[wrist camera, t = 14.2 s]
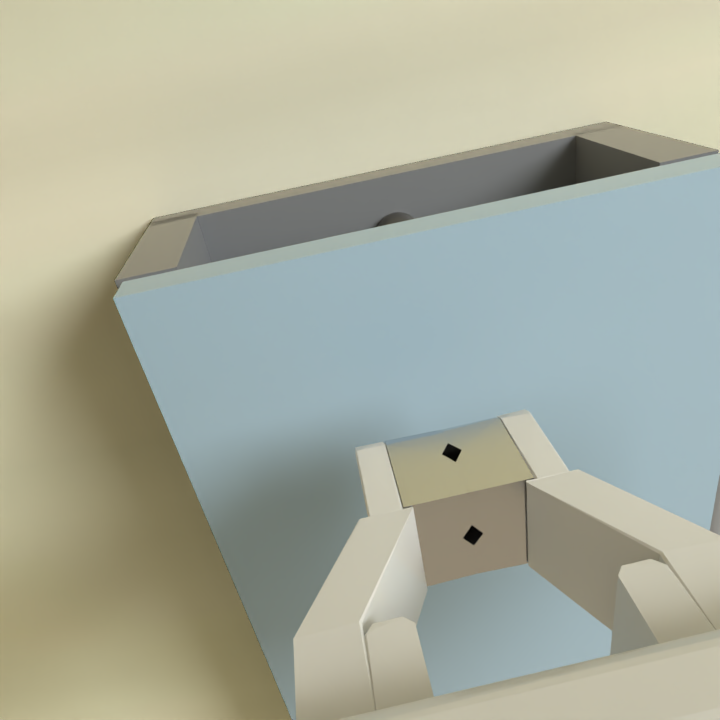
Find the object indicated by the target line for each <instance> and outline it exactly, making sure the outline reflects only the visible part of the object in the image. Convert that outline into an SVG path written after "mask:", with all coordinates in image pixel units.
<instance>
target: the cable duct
mask: <svg viewBox="0 0 720 720" xmlns="http://www.w3.org/2000/svg"><path fill="white" fill-rule="evenodd" d="M718 151H719V150H716V149H712V148H708V147H704V146H700V145H696V144H693V143H689V142H685V141H681V140H677V139H673V138H669V137H665V136H661V135H657V134H653V133H649V132H645V131H641V130H637V129H633V128H629V127H625V126H621V125H617V124H613V123H609V122H603V123H598V124H593V125H588V126H584V127H579V128H574V129H570V130H565V131H560V132H556V133H551V134H546V135H542V136H537V137H532V138H527V139H523V140H518V141H513V142H509V143H504V144H499V145H495V146H490V147H485V148H480V149H476V150H471V151H466V152H462V153H457V154H452V155H448V156H443V157H438V158H433V159H429V160H424V161H419V162H415V163H410V164H405V165H401V166H396V167H391V168H386V169H382V170H377V171H372V172H368V173H363V174H358V175H354V176H349V177H344V178H339V179H335V180H330V181H325V182H321V183H316V184H311V185H307V186H302V187H297V188H292V189H288V190H283V191H278V192H274V193H269V194H264V195H260V196H255V197H250V198H245V199H241V200H236V201H231V202H227V203H222V204H217V205H213V206H208V207H203V208H198V209H194V210H189V211H184V212H180V213H175V214H170V215H166V216H161V217H156V218H153V220H152V221H151V223H150V225H149V226H148V228H147V229H146V231H145V232H144V234H143V236H142V237H141V239H140V240H139V242H138V244H137V245H136V247H135V248H134V250H133V252H132V253H131V255H130V256H129V258H128V260H127V261H126V263H125V264H124V266H123V268H122V269H121V271H120V272H119V274H118V276H117V277H116V279H115V280H114V281H115V283H116V286H117V288H118V289H119V287H120V286H121V284H122V282H124V281H129V280H133V279H138V278H143V277H147V276H152V275H157V274H161V273H166V272H170V271H175V270H180V269H184V268H189V267H194V266H198V265H203V264H208V263H212V262H217V261H221V260H226V259H231V258H235V257H240V256H245V255H249V254H254V253H259V252H263V251H268V250H272V249H277V248H282V247H286V246H291V245H296V244H300V243H305V242H310V241H314V240H319V239H324V238H328V237H333V236H337V235H342V234H347V233H351V232H356V231H361V230H365V229H370V228H375V227H379V226H384V225H388V224H393V223H398V222H402V221H407V220H412V219H416V218H421V217H426V216H430V215H435V214H439V213H444V212H449V211H453V210H458V209H463V208H467V207H472V206H477V205H481V204H486V203H490V202H495V201H500V200H504V199H509V198H514V197H518V196H523V195H528V194H532V193H537V192H541V191H546V190H551V189H555V188H560V187H565V186H569V185H574V184H579V183H583V182H588V181H592V180H597V179H602V178H606V177H611V176H616V175H620V174H625V173H630V172H634V171H639V170H643V169H648V168H653V167H657V166H662V165H667V164H671V163H676V162H681V161H685V160H690V159H694V158H699V157H704V156H708V155H713V154H718Z"/></svg>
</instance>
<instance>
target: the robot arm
mask: <svg viewBox="0 0 720 720" xmlns="http://www.w3.org/2000/svg"><path fill="white" fill-rule="evenodd" d="M355 455H356V460H357V465H358V470H359V475H360V480H361V485H362V490H363V495H364V500H365V505H366V510H367V515H368V517H366V518H361V519H359V520H358V522H357V524H356V526H355V528H354V530H353V531H352V533H351V535H350V537H349V539H348V540H347V542H346V544H345V546H344V548H343V550H342V551H341V553H340V555H339V557H338V559H337V560H336V562H335V564H334V566H333V568H332V569H331V571H330V573H329V575H328V577H327V579H326V580H325V582H324V584H323V586H322V588H321V589H320V591H319V593H318V595H317V597H316V599H315V600H314V602H313V604H312V606H311V608H310V609H309V611H308V613H307V615H306V617H305V618H304V620H303V622H302V624H301V626H300V628H299V629H298V631H297V633H296V635H295V637H294V638H293V645H294V674H295V702H296V720H720V535H718V534H716V533H713V532H711V531H709V530H707V529H705V528H703V527H701V526H698V525H696V524H694V523H692V522H690V521H688V520H686V519H684V518H681V517H679V516H677V515H675V514H673V513H671V512H669V511H666V510H664V509H662V508H660V507H658V506H656V505H654V504H652V503H649V502H647V501H645V500H643V499H641V498H639V497H637V496H634V495H632V494H630V493H628V492H626V491H624V490H622V489H619V488H617V487H615V486H613V485H611V484H609V483H607V482H605V481H602V480H600V479H598V478H596V477H594V476H592V475H590V474H587V473H585V472H583V471H581V470H579V469H577V470H572V471H569V470H568V468H567V467H566V465H565V464H564V462H563V461H562V459H561V458H560V456H559V455H558V453H557V452H556V450H555V449H554V447H553V446H552V444H551V443H550V441H549V440H548V438H547V437H546V435H545V434H544V432H543V431H542V429H541V428H540V426H539V425H538V423H537V422H536V420H535V419H534V417H533V416H532V414H531V413H530V412H529V411H527V410H526V409H524V410H520V411H516V412H512V413H507V414H503V415H499V416H497V417H494V418H490V419H485V420H481V421H477V422H472V423H468V424H464V425H459V426H455V427H451V428H446V429H442V430H436V431H431V432H426V433H421V434H416V435H411V436H406V437H401V438H396V439H391V440H386V441H385V443H384V442H378V443H374V444H369V445H364V446H359V447H355ZM523 564H528V566H529V567H530V568H532V569H533V570H534V571H536V572H537V573H538V574H539V575H541V576H542V577H543V578H545V579H546V580H547V581H548V582H550V583H551V584H552V585H554V586H555V587H556V588H557V589H559V590H560V591H561V592H563V593H564V594H565V595H566V596H568V597H569V598H570V599H572V600H573V601H574V602H575V603H577V604H578V605H579V606H581V607H582V608H583V609H584V610H586V611H587V612H588V613H590V614H591V615H592V616H593V617H595V618H596V619H597V620H599V621H600V622H601V623H602V624H604V625H605V626H606V627H608V628H609V629H610V630H611V631H612V640H611V649H610V655H609V656H605V657H601V658H596V659H592V660H588V661H584V662H580V663H575V664H571V665H567V666H563V667H558V668H554V669H550V670H546V671H541V672H537V673H533V674H529V675H524V676H520V677H516V678H512V679H507V680H503V681H499V682H495V683H490V684H486V685H482V686H478V687H473V688H469V689H465V690H461V691H456V692H452V693H448V694H444V695H439V696H435V697H434V695H433V691H432V687H431V683H430V679H429V676H428V672H427V668H426V664H425V660H424V656H423V652H422V648H421V644H420V640H419V636H418V632H417V628H416V625H417V622H418V619H419V616H420V613H421V609H422V606H423V603H424V600H425V597H426V593H427V587H428V586H432V585H436V584H439V583H443V582H447V581H451V580H455V579H459V578H462V577H466V576H470V575H474V574H478V573H483V572H488V571H493V570H498V569H503V568H508V567H513V566H518V565H523Z"/></svg>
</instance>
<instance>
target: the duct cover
mask: <svg viewBox="0 0 720 720" xmlns="http://www.w3.org/2000/svg"><path fill="white" fill-rule="evenodd" d="M113 300H114V302H115V305H116V307H117V309H118V312H119V314H120V316H121V319H122V321H123V323H124V326H125V328H126V330H127V333H128V335H129V338H130V340H131V342H132V345H133V347H134V349H135V352H136V354H137V356H138V359H139V361H140V363H141V366H142V368H143V370H144V373H145V375H146V378H147V380H148V382H149V385H150V387H151V389H152V392H153V394H154V396H155V399H156V401H157V403H158V406H159V408H160V410H161V413H162V415H163V418H164V420H165V422H166V425H167V427H168V429H169V432H170V434H171V436H172V439H173V441H174V443H175V446H176V448H177V450H178V453H179V455H180V458H181V460H182V462H183V465H184V467H185V469H186V472H187V474H188V476H189V479H190V481H191V483H192V486H193V488H194V490H195V493H196V495H197V498H198V500H199V502H200V505H201V507H202V509H203V512H204V514H205V516H206V519H207V521H208V523H209V526H210V528H211V531H212V533H213V535H214V538H215V540H216V542H217V545H218V547H219V549H220V552H221V554H222V556H223V559H224V561H225V563H226V566H227V568H228V571H229V573H230V575H231V578H232V580H233V582H234V585H235V587H236V589H237V592H238V594H239V596H240V599H241V601H242V603H243V606H244V608H245V611H246V613H247V615H248V618H249V620H250V622H251V625H252V627H253V629H254V632H255V634H256V636H257V639H258V641H259V643H260V646H261V648H262V651H263V653H264V655H265V658H266V660H267V662H268V665H269V667H270V669H271V672H272V674H273V676H274V679H275V681H276V683H277V686H278V688H279V691H280V693H281V695H282V698H283V700H284V702H285V705H286V707H287V709H288V712H289V714H290V716H291V719H292V720H296V702H295V674H294V645H293V638H294V637H295V635H296V633H297V631H298V629H299V628H300V626H301V624H302V622H303V620H304V618H305V617H306V615H307V613H308V611H309V609H310V608H311V606H312V604H313V602H314V600H315V599H316V597H317V595H318V593H319V591H320V589H321V588H322V586H323V584H324V582H325V580H326V579H327V577H328V575H329V573H330V571H331V569H332V568H333V566H334V564H335V562H336V560H337V559H338V557H339V555H340V553H341V551H342V550H343V548H344V546H345V544H346V542H347V540H348V539H349V537H350V535H351V533H352V531H353V530H354V528H355V526H356V524H357V522H358V520H359V519H361V518H366V517H368V515H367V510H366V505H365V500H364V495H363V490H362V485H361V480H360V475H359V470H358V465H357V460H356V455H355V447H359V446H364V445H369V444H374V443H378V442H384V443H385V441H386V440H391V439H396V438H401V437H406V436H411V435H416V434H421V433H426V432H431V431H436V430H442V429H446V428H451V427H455V426H459V425H464V424H468V423H472V422H477V421H481V420H485V419H490V418H494V417H497V416H499V415H503V414H507V413H512V412H516V411H520V410H524V409H526V410H527V411H529V412H530V413H531V414H532V416H533V417H534V419H535V420H536V422H537V423H538V425H539V426H540V428H541V429H542V431H543V432H544V434H545V435H546V437H547V438H548V440H549V441H550V443H551V444H552V446H553V447H554V449H555V450H556V452H557V453H558V455H559V456H560V458H561V459H562V461H563V462H564V464H565V465H566V467H567V468H568V470H569V471H572V470H577V469H579V470H581V471H583V472H585V473H587V474H590V475H592V476H594V477H596V478H598V479H600V480H602V481H605V482H607V483H609V484H611V485H613V486H615V487H617V488H619V489H622V490H624V491H626V492H628V493H630V494H632V495H634V496H637V497H639V498H641V499H643V500H645V501H647V502H649V503H652V504H654V505H656V506H658V507H660V508H662V509H664V510H666V511H669V512H671V513H673V514H675V515H677V516H679V517H681V518H684V519H686V520H688V521H690V522H692V523H694V524H696V525H698V526H701V527H703V528H705V529H707V530H709V531H711V532H713V533H716V534H718V535H720V153H718V154H713V155H708V156H704V157H699V158H694V159H690V160H685V161H681V162H676V163H671V164H667V165H662V166H657V167H653V168H648V169H643V170H639V171H634V172H630V173H625V174H620V175H616V176H611V177H606V178H602V179H597V180H592V181H588V182H583V183H579V184H574V185H569V186H565V187H560V188H555V189H551V190H546V191H541V192H537V193H532V194H528V195H523V196H518V197H514V198H509V199H504V200H500V201H495V202H490V203H486V204H481V205H477V206H472V207H467V208H463V209H458V210H453V211H449V212H444V213H439V214H435V215H430V216H426V217H421V218H416V219H412V220H407V221H402V222H398V223H393V224H388V225H384V226H379V227H375V228H370V229H365V230H361V231H356V232H351V233H347V234H342V235H337V236H333V237H328V238H324V239H319V240H314V241H310V242H305V243H300V244H296V245H291V246H286V247H282V248H277V249H272V250H268V251H263V252H259V253H254V254H249V255H245V256H240V257H235V258H231V259H226V260H221V261H217V262H212V263H208V264H203V265H198V266H194V267H189V268H184V269H180V270H175V271H170V272H166V273H161V274H157V275H152V276H147V277H143V278H138V279H133V280H129V281H124V282H122V284H121V286H120V287H119V289H118V291H117V292H116V294H115V296H114V297H113ZM416 628H417V632H418V636H419V640H420V644H421V648H422V652H423V656H424V660H425V664H426V668H427V672H428V676H429V679H430V683H431V687H432V691H433V695H434V697H435V696H439V695H444V694H448V693H452V692H456V691H461V690H465V689H469V688H473V687H478V686H482V685H486V684H490V683H495V682H499V681H503V680H507V679H512V678H516V677H520V676H524V675H529V674H533V673H537V672H541V671H546V670H550V669H554V668H558V667H563V666H567V665H571V664H575V663H580V662H584V661H588V660H592V659H596V658H601V657H605V656H609V655H610V649H611V640H612V631H611V630H610V629H609V628H608V627H606V626H605V625H604V624H602V623H601V622H600V621H599V620H597V619H596V618H595V617H593V616H592V615H591V614H590V613H588V612H587V611H586V610H584V609H583V608H582V607H581V606H579V605H578V604H577V603H575V602H574V601H573V600H572V599H570V598H569V597H568V596H566V595H565V594H564V593H563V592H561V591H560V590H559V589H557V588H556V587H555V586H554V585H552V584H551V583H550V582H548V581H547V580H546V579H545V578H543V577H542V576H541V575H539V574H538V573H537V572H536V571H534V570H533V569H532V568H530V567H529V566H528V564H523V565H518V566H513V567H508V568H503V569H498V570H493V571H488V572H483V573H478V574H474V575H470V576H466V577H462V578H459V579H455V580H451V581H447V582H443V583H439V584H436V585H432V586H428V587H427V593H426V597H425V600H424V603H423V606H422V609H421V613H420V616H419V619H418V622H417V625H416Z"/></svg>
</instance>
